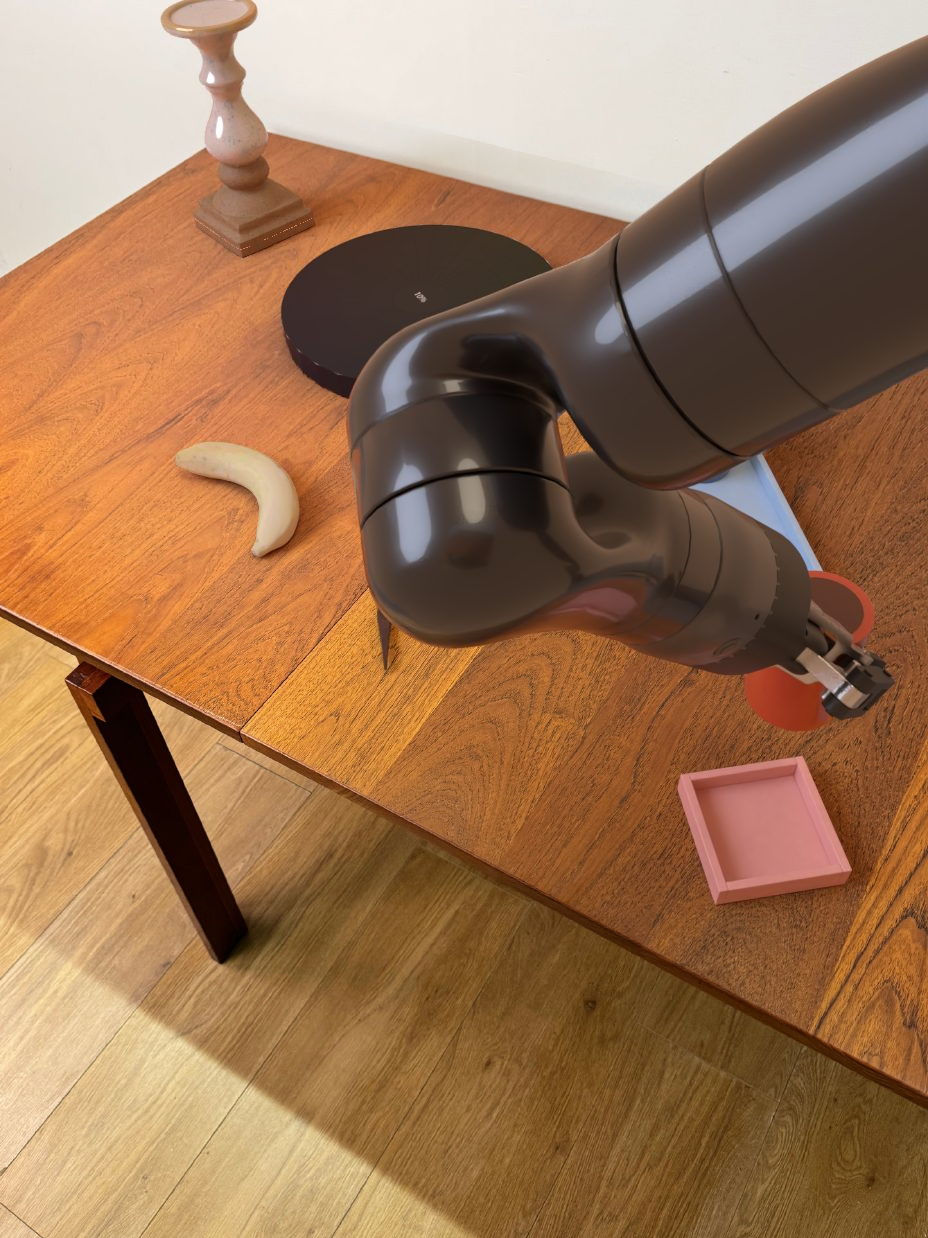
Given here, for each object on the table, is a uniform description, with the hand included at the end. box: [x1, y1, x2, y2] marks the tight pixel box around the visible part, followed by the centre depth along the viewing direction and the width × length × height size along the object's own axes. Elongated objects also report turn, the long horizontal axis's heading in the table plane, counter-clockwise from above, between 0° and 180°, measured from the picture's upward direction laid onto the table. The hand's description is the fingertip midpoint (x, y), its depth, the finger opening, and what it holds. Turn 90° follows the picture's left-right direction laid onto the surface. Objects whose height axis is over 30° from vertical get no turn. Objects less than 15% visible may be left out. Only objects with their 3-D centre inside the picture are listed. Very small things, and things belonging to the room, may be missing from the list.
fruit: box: [174, 440, 300, 558], centre depth 90 cm, size 7×15×3 cm, turn 38°
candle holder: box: [160, 0, 316, 258], centre depth 114 cm, size 11×11×24 cm
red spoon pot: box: [743, 570, 876, 733], centre depth 57 cm, size 6×6×8 cm
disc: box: [280, 224, 554, 399], centre depth 107 cm, size 30×30×3 cm
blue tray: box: [688, 453, 824, 571], centre depth 86 cm, size 10×20×2 cm, turn 8°
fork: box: [376, 606, 392, 671], centre depth 82 cm, size 3×16×2 cm, turn 4°
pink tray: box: [676, 755, 853, 906], centre depth 67 cm, size 9×9×2 cm
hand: (829, 637), depth 58 cm, fingers closed on red spoon pot, 5 cm apart
